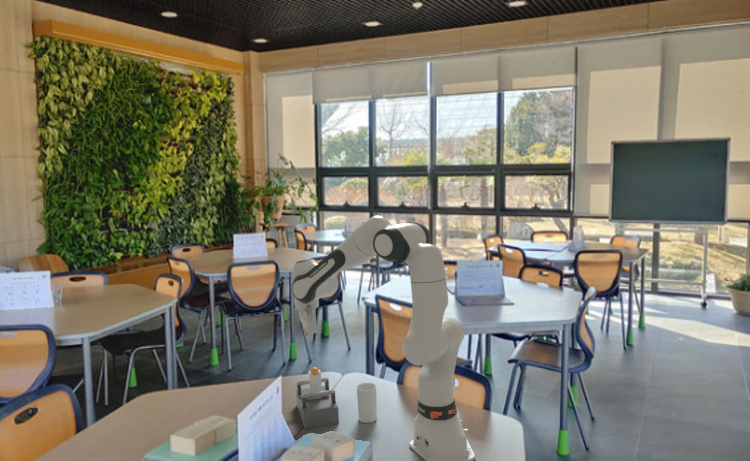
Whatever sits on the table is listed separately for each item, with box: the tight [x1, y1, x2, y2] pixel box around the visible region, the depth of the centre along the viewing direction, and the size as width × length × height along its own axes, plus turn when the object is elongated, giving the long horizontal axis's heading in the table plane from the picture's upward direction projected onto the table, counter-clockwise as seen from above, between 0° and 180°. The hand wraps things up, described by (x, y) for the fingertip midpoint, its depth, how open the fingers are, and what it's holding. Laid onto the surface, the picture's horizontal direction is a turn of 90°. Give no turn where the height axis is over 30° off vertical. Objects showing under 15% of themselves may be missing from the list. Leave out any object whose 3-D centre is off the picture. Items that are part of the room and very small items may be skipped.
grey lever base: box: [295, 377, 340, 430], centre depth 203 cm, size 20×12×11 cm, turn 16°
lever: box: [308, 366, 322, 398], centre depth 203 cm, size 3×4×11 cm
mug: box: [356, 382, 378, 424], centre depth 199 cm, size 10×7×12 cm, turn 169°
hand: (308, 338), depth 211 cm, fingers open, 6 cm apart
